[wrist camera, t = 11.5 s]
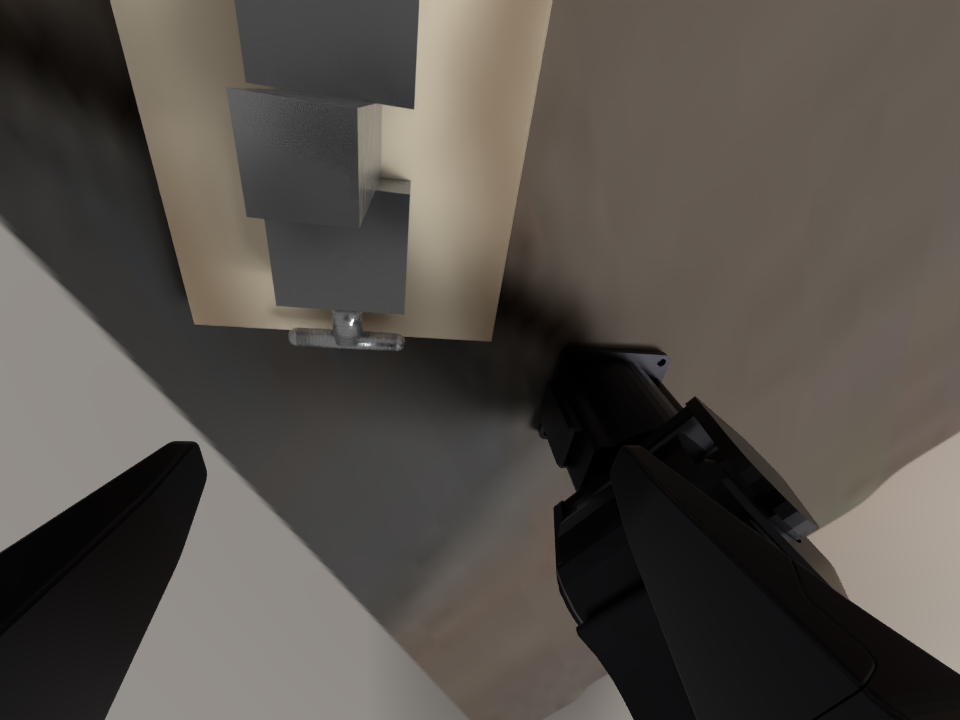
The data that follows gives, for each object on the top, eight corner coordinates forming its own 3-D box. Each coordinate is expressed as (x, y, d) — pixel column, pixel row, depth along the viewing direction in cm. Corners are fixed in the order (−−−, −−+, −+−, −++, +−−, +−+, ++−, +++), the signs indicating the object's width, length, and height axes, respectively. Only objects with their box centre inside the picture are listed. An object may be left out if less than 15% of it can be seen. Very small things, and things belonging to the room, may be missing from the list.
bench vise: (426, -68, 12) (435, -223, 6) (405, 336, 19) (401, 443, 13) (246, -112, 11) (57, -341, 5) (296, 330, 18) (239, 441, 12)
